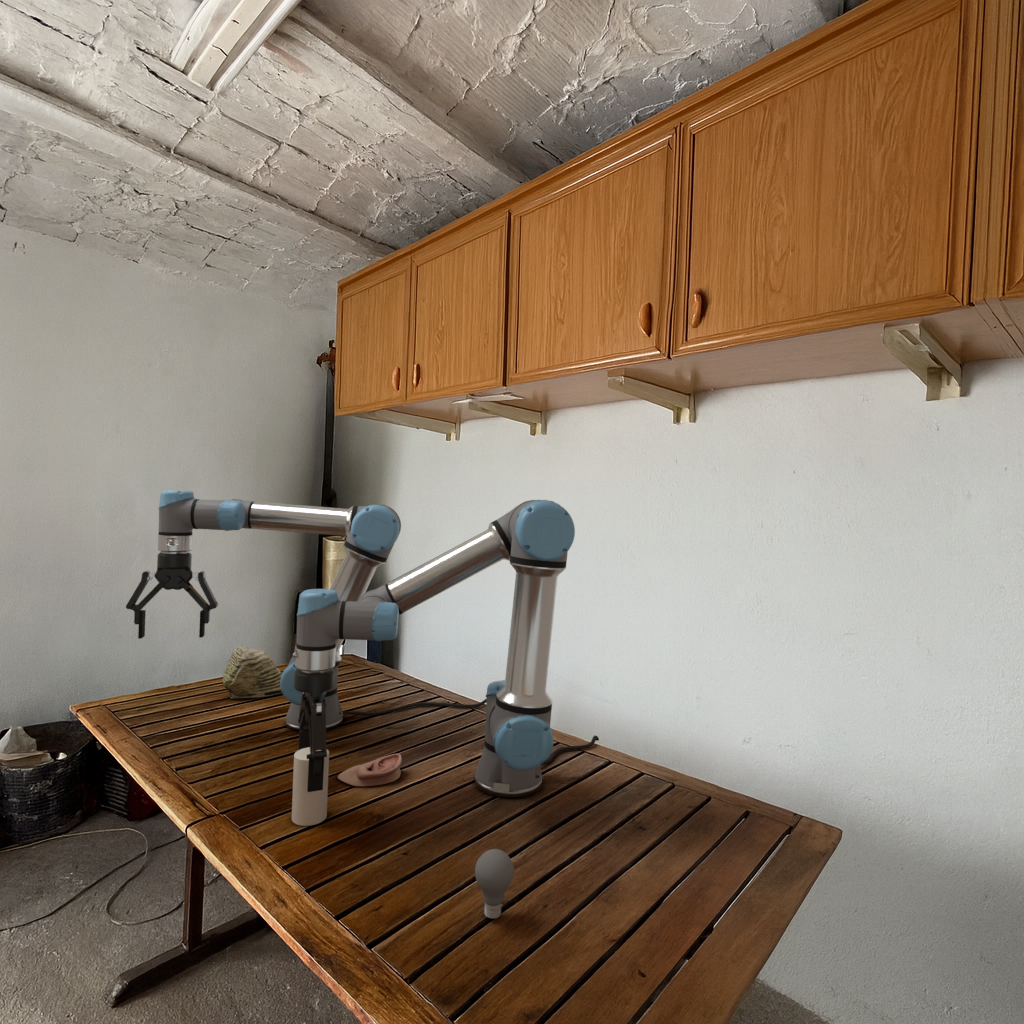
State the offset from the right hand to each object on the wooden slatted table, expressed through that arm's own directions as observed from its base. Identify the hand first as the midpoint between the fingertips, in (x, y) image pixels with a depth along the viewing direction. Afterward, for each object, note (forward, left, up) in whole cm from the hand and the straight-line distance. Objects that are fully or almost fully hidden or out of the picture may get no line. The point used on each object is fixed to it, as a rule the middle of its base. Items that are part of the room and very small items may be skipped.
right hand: (309, 775), depth 125 cm
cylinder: (0, 0, -8) cm, 8 cm away
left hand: (+27, -50, +18) cm, 60 cm away
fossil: (+5, -83, -8) cm, 84 cm away
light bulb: (-22, +41, -8) cm, 47 cm away
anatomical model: (-16, -14, -8) cm, 22 cm away
